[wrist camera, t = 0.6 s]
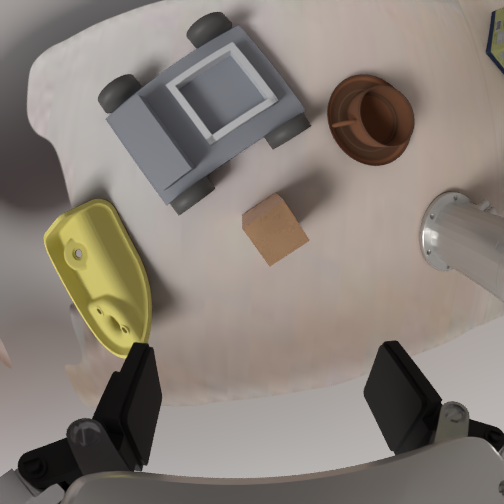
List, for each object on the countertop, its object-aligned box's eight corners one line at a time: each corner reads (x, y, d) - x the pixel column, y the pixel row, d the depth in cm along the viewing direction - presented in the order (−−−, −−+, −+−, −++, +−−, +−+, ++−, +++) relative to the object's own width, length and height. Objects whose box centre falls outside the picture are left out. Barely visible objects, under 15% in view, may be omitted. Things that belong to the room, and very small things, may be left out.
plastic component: (40, 238, 33) (62, 211, 28) (78, 220, 39) (108, 193, 34) (109, 357, 38) (146, 358, 32) (139, 330, 44) (179, 324, 39)
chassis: (230, 21, 28) (229, 2, 23) (311, 124, 32) (323, 119, 28) (104, 110, 30) (85, 105, 26) (178, 214, 35) (168, 224, 30)
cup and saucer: (356, 182, 35) (376, 187, 29) (304, 103, 32) (317, 93, 26) (417, 138, 33) (443, 138, 27) (373, 64, 30) (394, 52, 24)
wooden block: (275, 192, 35) (284, 200, 28) (297, 225, 36) (309, 240, 30) (241, 215, 36) (242, 228, 29) (264, 246, 37) (269, 266, 31)
